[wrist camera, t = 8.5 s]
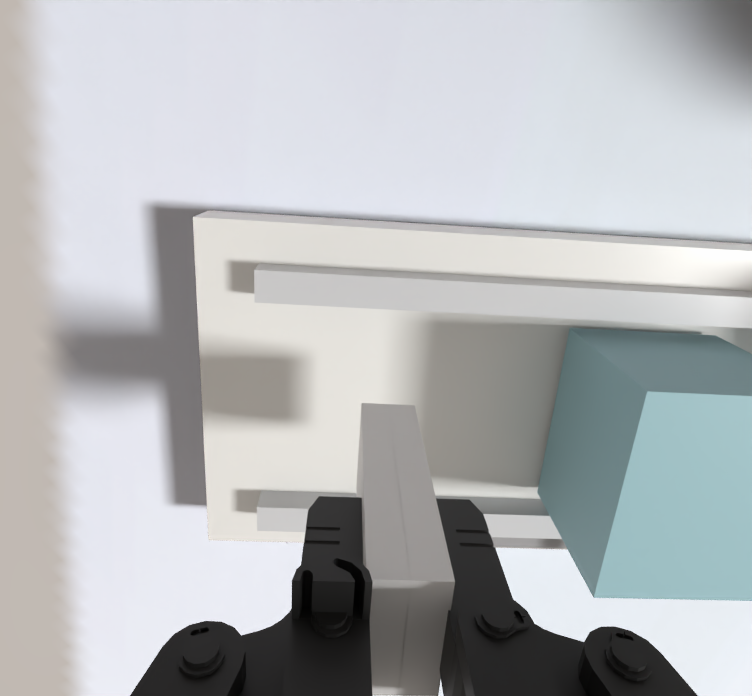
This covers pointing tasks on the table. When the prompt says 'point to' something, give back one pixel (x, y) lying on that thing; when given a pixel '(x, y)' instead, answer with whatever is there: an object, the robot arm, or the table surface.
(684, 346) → the gauge slider
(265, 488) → the board
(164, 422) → the table surface
